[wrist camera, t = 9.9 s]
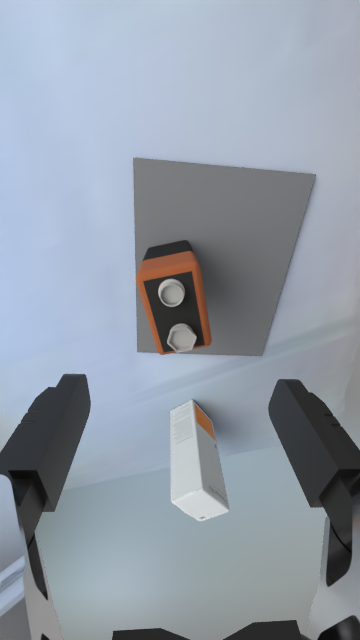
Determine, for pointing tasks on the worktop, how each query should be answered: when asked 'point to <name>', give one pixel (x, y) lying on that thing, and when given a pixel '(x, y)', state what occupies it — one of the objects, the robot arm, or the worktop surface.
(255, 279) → the rubber mat
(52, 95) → the worktop surface
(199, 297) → the battery
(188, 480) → the skincare box
